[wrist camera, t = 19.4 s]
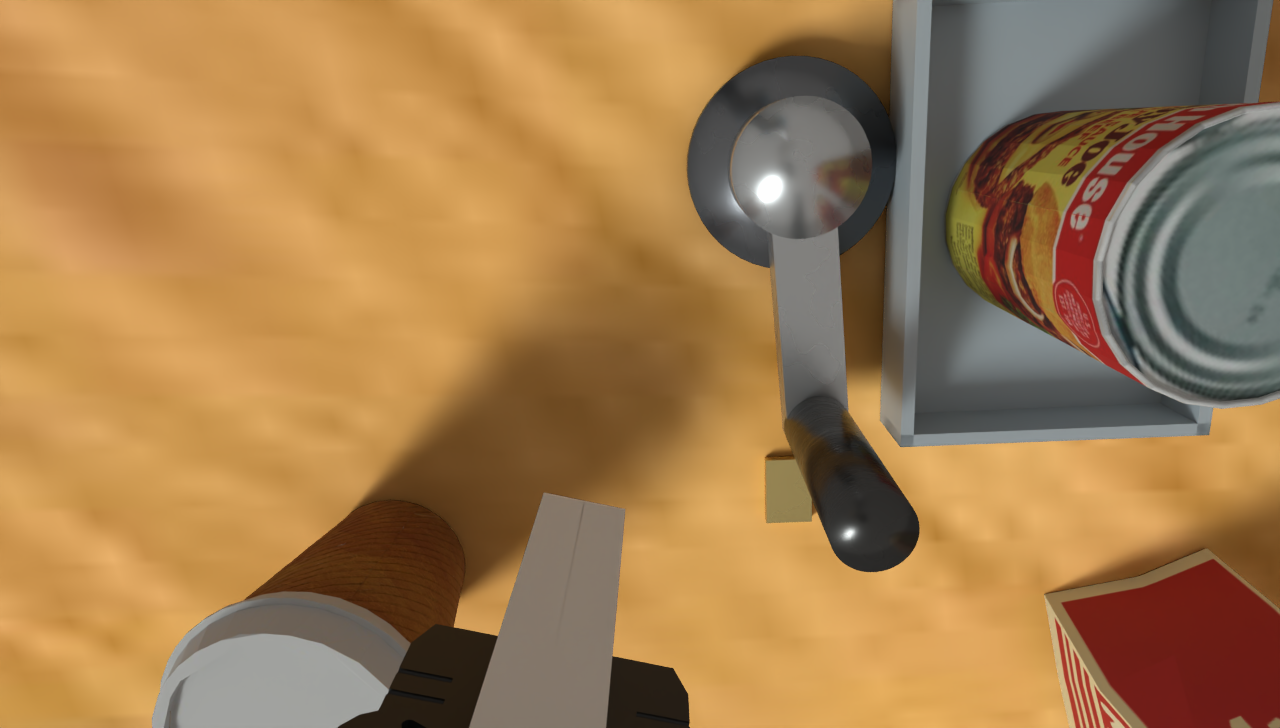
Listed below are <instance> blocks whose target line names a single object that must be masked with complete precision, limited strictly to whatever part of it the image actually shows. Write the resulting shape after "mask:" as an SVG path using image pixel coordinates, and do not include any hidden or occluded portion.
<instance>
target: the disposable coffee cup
mask: <svg viewBox="0 0 1280 728" xmlns="http://www.w3.org/2000/svg"><path fill="white" fill-rule="evenodd" d="M464 575H465V558H464V554H463V549H462V547H461V545H460V543H459V541H458V539H457V537H456V535H455V533H454V532H453V531H452V530H451V528H450V527H449V526H448V524H447V523H446V522H444V521H443V520H442V519H441V518H440V517H439V516H437V515H436V514H434V513H433V512H431V511H430V510H428V509H426V508H424V507H422V506H420V505H417V504H412V503H408V502H404V501H396V500H386V501H378V502H374V503H371V504H368V505H365V506H362V507H360V508H358V509H357V510H355V511H353V512H352V513H351V514H350V515H348V516H347V517H346V518H345V519H344V520H343V521H341V522H340V523H339V524H338V525H336V526H335V527H334V528H333V529H331V530H330V531H329V532H328V533H326V534H325V535H324V536H323V537H321V538H320V539H319V540H318V541H316V542H315V543H314V544H313V545H311V546H310V547H309V548H307V549H306V550H305V551H304V552H303V553H301V554H300V555H299V556H298V557H297V558H295V559H294V560H293V561H292V562H291V563H289V564H288V565H287V566H285V567H284V568H283V569H282V570H281V571H279V572H278V573H277V574H275V575H274V576H273V577H272V578H271V579H270V580H268V581H267V582H266V583H265V584H263V585H262V586H261V587H259V588H258V589H257V590H256V591H255V592H253V593H252V594H251V595H249V596H248V597H247V598H246V599H245V600H244V601H241V602H238V603H235V604H231V605H228V606H226V607H224V608H222V609H221V610H219V611H217V612H215V613H213V614H211V615H210V616H208V617H206V618H205V619H204V620H203V621H201V622H200V623H199V624H198V625H196V626H195V627H194V628H193V629H191V630H190V631H189V632H188V633H187V634H186V635H185V636H184V638H183V639H182V640H181V641H180V642H179V644H178V645H177V646H176V648H175V649H174V651H173V653H172V655H171V657H170V658H169V660H168V662H167V665H166V668H165V671H164V674H163V677H162V680H161V688H160V693H159V695H158V699H157V702H156V706H155V709H154V713H153V717H152V728H338V726H340V725H342V724H343V723H345V722H347V721H349V720H351V719H352V718H354V717H356V716H358V715H360V714H364V713H369V712H373V711H378V710H379V708H380V706H381V704H382V702H383V700H384V698H385V696H386V694H388V691H389V688H390V686H391V683H392V681H393V679H394V677H395V675H396V673H398V671H399V667H400V665H401V663H402V661H403V659H404V657H405V655H406V652H407V650H408V648H409V646H410V644H411V642H413V641H414V640H415V639H417V638H418V637H419V636H421V635H422V634H423V633H424V632H426V631H427V630H428V629H430V628H431V627H432V626H434V625H435V624H439V625H444V626H449V627H454V622H455V617H456V612H457V607H458V602H459V598H460V593H461V588H462V584H463V580H464Z"/></svg>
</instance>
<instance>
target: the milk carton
mask: <svg viewBox="0 0 1280 728" xmlns="http://www.w3.org/2000/svg"><path fill="white" fill-rule="evenodd" d="M1044 597H1045V603H1046V608H1047V614H1048V620H1049V626H1050V632H1051V638H1052V644H1053V650H1054V656H1055V662H1056V668H1057V674H1058V679H1059V683H1060V687H1061V692H1062V696H1063V701H1064V705H1065V710H1066V714H1067V719H1068V723H1069V728H1280V609H1279V608H1278V607H1277V606H1276V605H1274V604H1273V603H1272V602H1271V601H1270V600H1268V599H1267V598H1266V597H1265V596H1264V595H1262V594H1261V593H1260V592H1259V591H1258V590H1257V589H1255V588H1254V587H1253V586H1252V585H1251V584H1249V583H1248V582H1247V581H1246V580H1245V579H1243V578H1242V577H1241V576H1240V575H1239V574H1237V573H1236V572H1235V571H1234V570H1233V569H1231V568H1230V567H1229V566H1228V565H1227V564H1225V563H1224V562H1223V561H1222V560H1221V559H1219V558H1218V557H1217V556H1216V555H1215V554H1213V553H1212V552H1211V551H1210V550H1209V549H1207V548H1206V549H1203V550H1201V551H1199V552H1196V553H1194V554H1191V555H1189V556H1187V557H1184V558H1182V559H1179V560H1177V561H1175V562H1172V563H1170V564H1167V565H1165V566H1163V567H1160V568H1158V569H1155V570H1153V571H1150V572H1148V573H1146V574H1143V575H1141V576H1138V577H1133V578H1128V579H1123V580H1117V581H1112V582H1107V583H1102V584H1096V585H1091V586H1086V587H1081V588H1075V589H1070V590H1065V591H1059V592H1054V593H1049V594H1044Z"/></svg>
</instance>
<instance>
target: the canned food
mask: <svg viewBox="0 0 1280 728" xmlns="http://www.w3.org/2000/svg"><path fill="white" fill-rule="evenodd" d="M944 237H945V243H946V246H947V250H948V253H949V256H950V260H951V263H952V265H953V266H954V268H955V269H956V271H957V273H958V274H959V276H960V277H961V279H962V280H963V282H964V283H965V284H966V285H967V286H968V287H969V288H970V289H971V290H973V291H974V292H975V293H976V294H977V295H979V296H980V297H981V298H982V299H983V300H985V301H987V302H989V303H991V304H993V305H994V306H996V307H998V308H1000V309H1002V310H1004V311H1006V312H1008V313H1009V314H1011V315H1013V316H1015V317H1017V318H1019V319H1021V320H1023V321H1024V322H1026V323H1028V324H1030V325H1032V326H1034V327H1036V328H1038V329H1039V330H1041V331H1043V332H1045V333H1047V334H1049V335H1051V336H1053V337H1054V338H1056V339H1058V340H1060V341H1062V342H1064V343H1066V344H1067V345H1069V346H1071V347H1073V348H1075V349H1077V350H1079V351H1081V352H1082V353H1084V354H1086V355H1088V356H1090V357H1092V358H1094V359H1096V360H1097V361H1099V362H1101V363H1103V364H1105V365H1107V366H1109V367H1111V368H1112V369H1114V370H1116V371H1118V372H1120V373H1122V374H1124V375H1125V376H1127V377H1129V378H1131V379H1133V380H1135V381H1137V382H1139V383H1140V384H1142V385H1144V386H1146V387H1148V388H1150V389H1152V390H1154V391H1157V392H1159V393H1161V394H1163V395H1166V396H1168V397H1170V398H1173V399H1175V400H1177V401H1179V402H1182V403H1185V404H1192V405H1199V406H1206V407H1213V408H1220V409H1224V408H1233V407H1243V406H1253V405H1262V404H1264V403H1267V402H1270V401H1273V400H1276V399H1279V398H1280V102H1262V103H1238V104H1214V105H1190V106H1167V107H1143V108H1119V109H1095V110H1072V111H1056V112H1048V113H1040V114H1032V115H1030V116H1027V117H1025V118H1022V119H1020V120H1017V121H1015V122H1012V123H1009V124H1007V125H1005V126H1004V127H1002V128H1001V129H999V130H998V131H997V132H995V133H994V134H992V135H991V136H990V137H988V138H987V139H985V140H984V141H982V142H981V144H980V145H979V146H978V147H977V148H976V149H975V150H974V152H973V153H972V154H971V155H970V156H969V157H968V158H967V160H966V161H965V162H964V163H963V165H962V167H961V169H960V171H959V172H958V174H957V176H956V178H955V180H954V182H953V184H952V186H951V188H950V192H949V196H948V200H947V204H946V208H945V212H944Z"/></svg>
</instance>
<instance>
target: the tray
mask: <svg viewBox="0 0 1280 728" xmlns="http://www.w3.org/2000/svg"><path fill="white" fill-rule="evenodd" d="M1272 5H1273V0H893V16H892V49H891V81H890V114H889V119H890V122H891V125H892V129H893V132H894V137H895V143H896V160H897V161H896V172H895V178H894V182H893V187H892V190H891V193H890V196H889V198H888V201H887V212H886V245H885V278H884V311H883V343H882V376H881V409H880V421H881V422H882V424H883V425H884V426H885V428H886V429H887V430H888V431H889V433H890V434H891V435H892V437H893V438H894V439H895V441H896V442H897V443H898V445H899V446H900V447H915V446H940V445H966V444H991V443H1017V442H1042V441H1068V440H1093V439H1119V438H1144V437H1170V436H1195V435H1209V432H1210V426H1211V419H1212V412H1213V407H1206V406H1199V405H1192V404H1185V403H1182V402H1179V401H1177V400H1175V399H1173V398H1170V397H1168V396H1166V395H1163V394H1161V393H1159V392H1157V391H1154V390H1152V389H1150V388H1148V387H1146V386H1144V385H1142V384H1140V383H1139V382H1137V381H1135V380H1133V379H1131V378H1129V377H1127V376H1125V375H1124V374H1122V373H1120V372H1118V371H1116V370H1114V369H1112V368H1111V367H1109V366H1107V365H1105V364H1103V363H1101V362H1099V361H1097V360H1096V359H1094V358H1092V357H1090V356H1088V355H1086V354H1084V353H1082V352H1081V351H1079V350H1077V349H1075V348H1073V347H1071V346H1069V345H1067V344H1066V343H1064V342H1062V341H1060V340H1058V339H1056V338H1054V337H1053V336H1051V335H1049V334H1047V333H1045V332H1043V331H1041V330H1039V329H1038V328H1036V327H1034V326H1032V325H1030V324H1028V323H1026V322H1024V321H1023V320H1021V319H1019V318H1017V317H1015V316H1013V315H1011V314H1009V313H1008V312H1006V311H1004V310H1002V309H1000V308H998V307H996V306H994V305H993V304H991V303H989V302H987V301H985V300H983V299H982V298H981V297H980V296H979V295H977V294H976V293H975V292H974V291H973V290H971V289H970V288H969V287H968V286H967V285H966V284H965V283H964V282H963V280H962V279H961V277H960V276H959V274H958V273H957V271H956V269H955V268H954V266H953V265H952V263H951V260H950V256H949V253H948V250H947V246H946V243H945V237H944V212H945V208H946V204H947V200H948V196H949V192H950V188H951V186H952V184H953V182H954V180H955V178H956V176H957V174H958V172H959V171H960V169H961V167H962V165H963V163H964V162H965V161H966V160H967V158H968V157H969V156H970V155H971V154H972V153H973V152H974V150H975V149H976V148H977V147H978V146H979V145H980V144H981V142H982V141H984V140H985V139H987V138H988V137H990V136H991V135H992V134H994V133H995V132H997V131H998V130H999V129H1001V128H1002V127H1004V126H1005V125H1007V124H1009V123H1012V122H1015V121H1017V120H1020V119H1022V118H1025V117H1027V116H1030V115H1032V114H1040V113H1048V112H1056V111H1072V110H1095V109H1119V108H1143V107H1167V106H1190V105H1214V104H1238V103H1258V100H1259V93H1260V87H1261V80H1262V73H1263V66H1264V60H1265V53H1266V46H1267V39H1268V33H1269V26H1270V19H1271V12H1272Z"/></svg>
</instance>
